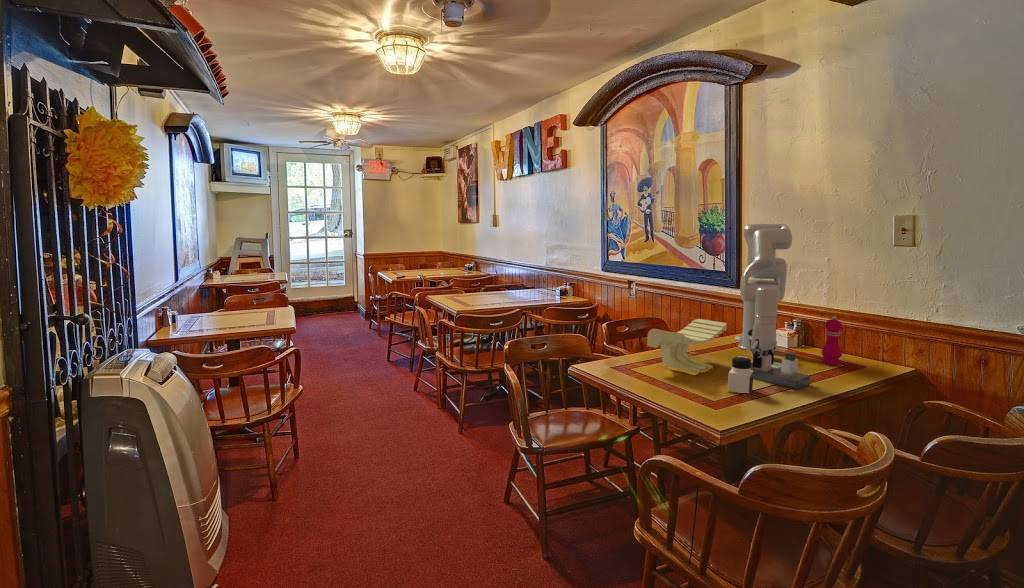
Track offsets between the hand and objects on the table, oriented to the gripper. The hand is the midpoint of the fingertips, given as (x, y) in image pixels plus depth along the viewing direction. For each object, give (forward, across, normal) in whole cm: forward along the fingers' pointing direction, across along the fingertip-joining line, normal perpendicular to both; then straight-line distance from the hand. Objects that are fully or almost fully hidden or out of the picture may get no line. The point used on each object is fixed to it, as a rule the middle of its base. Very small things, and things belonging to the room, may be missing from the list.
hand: (763, 365), depth 207 cm
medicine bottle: (+5, +20, +3) cm, 21 cm away
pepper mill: (+5, -40, +7) cm, 41 cm away
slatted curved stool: (+5, +11, -26) cm, 29 cm away
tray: (+5, -13, -6) cm, 15 cm away
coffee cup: (+5, -25, -15) cm, 30 cm away
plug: (+4, 0, 0) cm, 4 cm away
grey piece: (+5, 0, +3) cm, 6 cm away
